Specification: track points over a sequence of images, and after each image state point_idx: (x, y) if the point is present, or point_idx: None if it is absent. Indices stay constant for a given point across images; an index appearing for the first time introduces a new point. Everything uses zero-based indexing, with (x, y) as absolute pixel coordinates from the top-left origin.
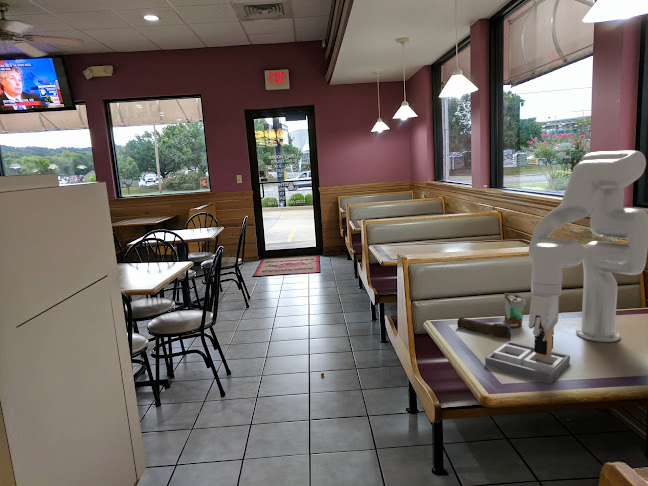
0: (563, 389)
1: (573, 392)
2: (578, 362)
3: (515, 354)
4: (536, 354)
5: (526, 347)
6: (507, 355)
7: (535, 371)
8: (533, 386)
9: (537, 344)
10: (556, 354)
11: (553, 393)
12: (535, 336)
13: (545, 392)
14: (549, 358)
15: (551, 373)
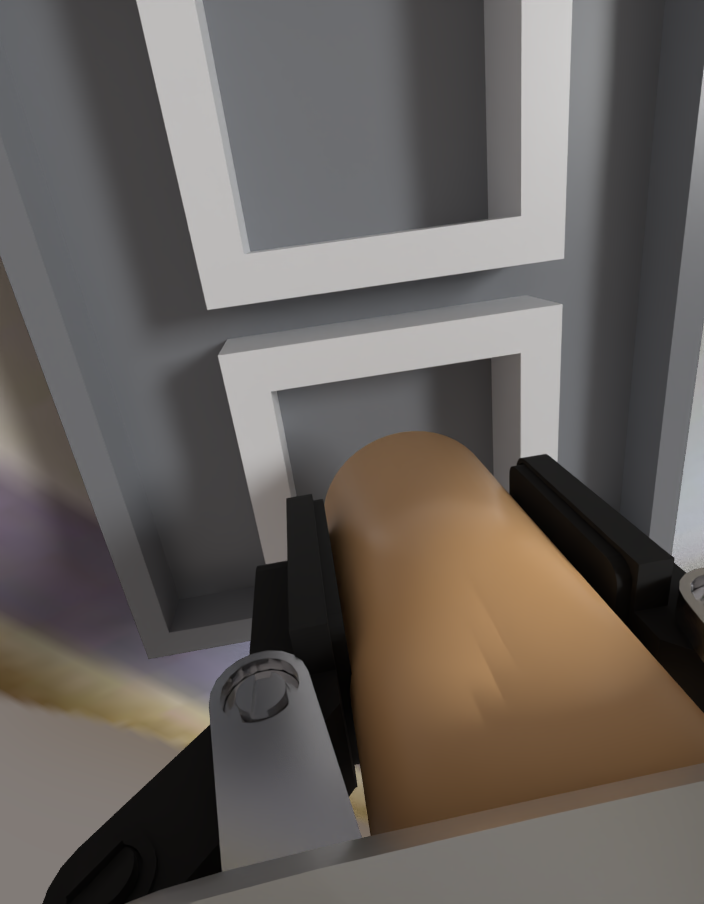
0: (167, 687)
1: (182, 734)
2: (681, 549)
3: (472, 74)
4: (341, 471)
5: (685, 116)
6: (166, 107)
7: (110, 547)
8: (13, 555)
9: (255, 638)
10: (649, 465)
11: (51, 682)
12: (94, 848)
13: (12, 648)
14: (508, 473)
15: (184, 652)
